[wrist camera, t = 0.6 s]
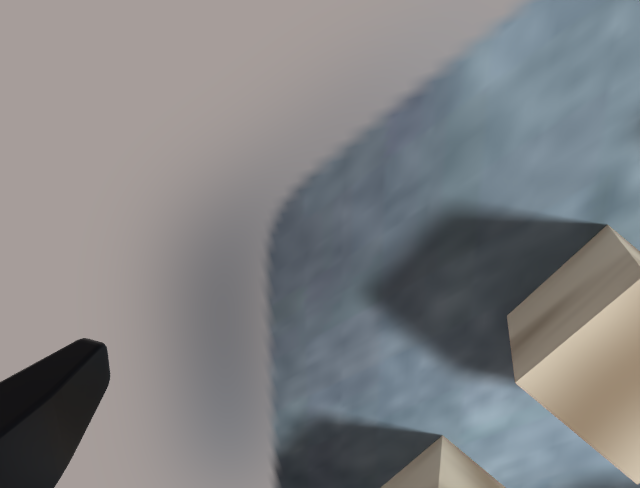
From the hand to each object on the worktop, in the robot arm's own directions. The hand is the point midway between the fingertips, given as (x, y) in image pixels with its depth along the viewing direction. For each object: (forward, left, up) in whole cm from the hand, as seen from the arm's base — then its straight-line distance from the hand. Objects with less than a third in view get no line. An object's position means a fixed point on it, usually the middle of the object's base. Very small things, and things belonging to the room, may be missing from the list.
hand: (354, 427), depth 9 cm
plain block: (-8, -2, -14) cm, 16 cm away
